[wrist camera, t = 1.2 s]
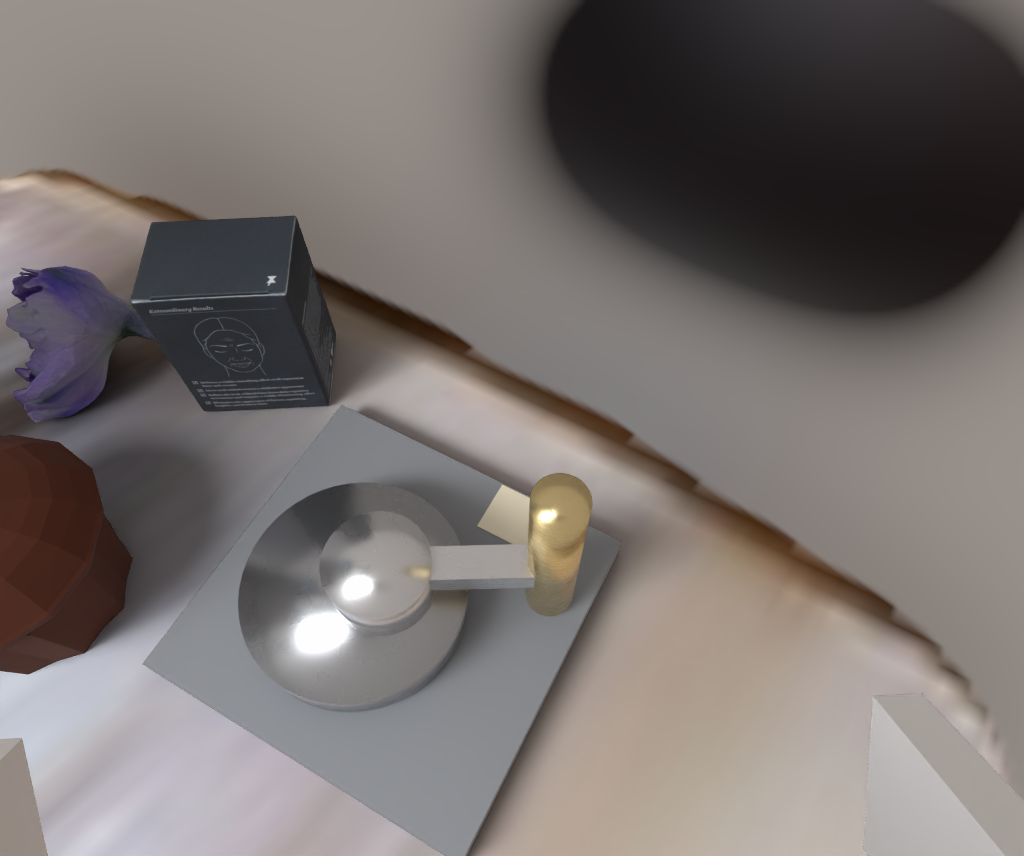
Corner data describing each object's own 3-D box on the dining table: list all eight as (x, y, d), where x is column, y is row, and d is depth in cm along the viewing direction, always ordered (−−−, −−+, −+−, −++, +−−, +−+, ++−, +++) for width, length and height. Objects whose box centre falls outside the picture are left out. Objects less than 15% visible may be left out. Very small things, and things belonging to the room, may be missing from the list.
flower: (157, 215, 46) (-38, 233, 39) (214, 344, 46) (27, 385, 39) (123, 286, 53) (-48, 312, 46) (173, 399, 52) (8, 442, 46)
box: (337, 334, 50) (298, 212, 41) (331, 409, 47) (287, 295, 38) (214, 339, 50) (147, 217, 41) (201, 414, 47) (125, 301, 38)
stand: (154, 671, 39) (141, 663, 38) (346, 417, 47) (341, 404, 45) (461, 865, 35) (459, 865, 33) (618, 552, 42) (622, 541, 41)
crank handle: (234, 715, 36) (135, 657, 27) (265, 501, 42) (192, 389, 32) (580, 706, 36) (604, 644, 27) (566, 493, 42) (581, 380, 32)
